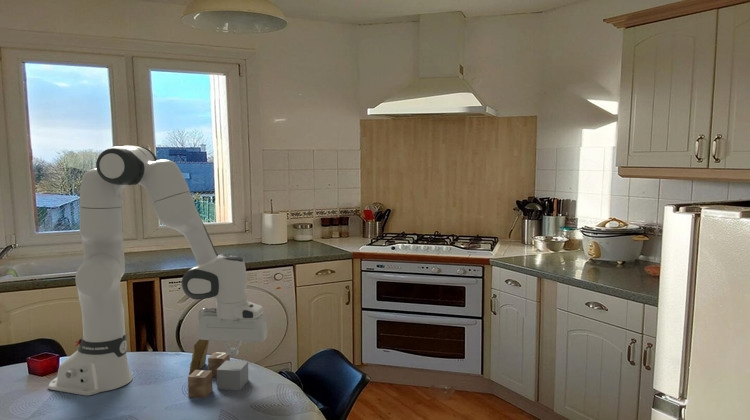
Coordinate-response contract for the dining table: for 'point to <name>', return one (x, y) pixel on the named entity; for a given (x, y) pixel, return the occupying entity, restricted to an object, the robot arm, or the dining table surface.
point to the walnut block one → (200, 383)
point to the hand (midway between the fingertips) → (233, 354)
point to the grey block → (232, 375)
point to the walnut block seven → (217, 361)
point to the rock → (199, 355)
